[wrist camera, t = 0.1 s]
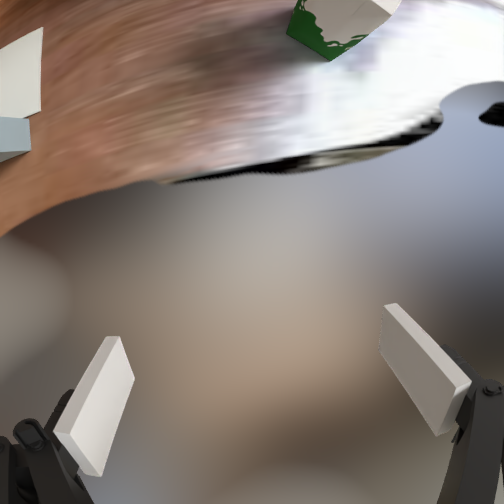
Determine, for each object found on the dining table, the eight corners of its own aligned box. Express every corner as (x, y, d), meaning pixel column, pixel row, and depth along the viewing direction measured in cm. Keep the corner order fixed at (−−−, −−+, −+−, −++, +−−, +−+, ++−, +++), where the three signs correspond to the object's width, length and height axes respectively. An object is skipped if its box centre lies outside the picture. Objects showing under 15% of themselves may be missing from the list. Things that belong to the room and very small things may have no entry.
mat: (-16, 60, 29) (-17, 59, 29) (43, 27, 29) (42, 26, 29) (-18, 137, 33) (-19, 137, 33) (40, 111, 34) (39, 110, 33)
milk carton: (307, -4, 32) (353, -85, 13) (361, 30, 34) (436, -30, 15) (276, 35, 34) (311, -46, 15) (333, 70, 36) (408, 17, 16)
